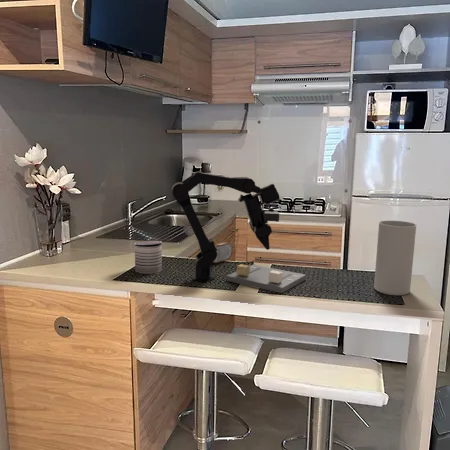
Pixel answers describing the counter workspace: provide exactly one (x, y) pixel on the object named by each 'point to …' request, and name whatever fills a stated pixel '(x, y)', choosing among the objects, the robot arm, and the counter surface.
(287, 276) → the fader panel
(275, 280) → the block
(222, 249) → the tin
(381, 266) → the cylinder vase
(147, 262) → the can
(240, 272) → the brass fader
